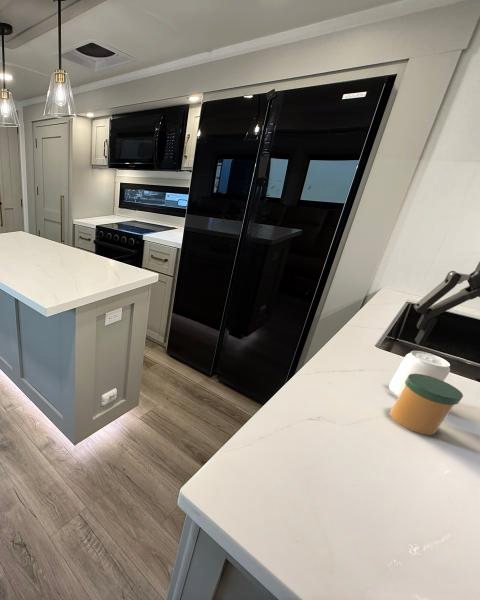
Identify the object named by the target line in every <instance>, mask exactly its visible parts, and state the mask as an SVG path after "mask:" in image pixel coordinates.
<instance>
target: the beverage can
mask: <svg viewBox="0 0 480 600" xmlns="http://www.w3.org/2000/svg"><path fill="white" fill-rule="evenodd" d="M450 372H451V364H450V362H448V361H447V359H444V358H442V357H440V356H439V355H435V354H433V353H429V352H426V351H421V350H412V351H410V352H408V353H407V354H406V355H405V356H404V358H403V360H402V362H401V363H400V365H399V367H398V369H397V371H396V372H395V374H394V376H393V378H392V379H391V381H390V383H389V385H388V388H389V389H390V391H391V392H392V393H394V394H395V395H396V396H397V397H399V395H400V393H401V392H402V390H403V388H404V387H405V385H406V384H405V381H406V379H407V377H408V376H409V375H410V374H422V375H427V376H430V377H433V378H436V379H439V380H442V381H444V382H445V380H446V378H447V377H448V375H449V374H450Z"/></svg>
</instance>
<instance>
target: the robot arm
mask: <svg viewBox="0 0 480 600" xmlns="http://www.w3.org/2000/svg"><path fill="white" fill-rule="evenodd" d="M465 281H467V283H468V286H466V287H464V288H462V289H460V290H459V291H458V292H456V293H454V294H452V295H450V296H448V297H446V298H444V299H442V298H443V297H444V296H446V295H447V294H448V293H449V292H451V291H452V290H453V289H454V288H456V286H457V285H461V284H462V283H464V282H465ZM476 298H480V261H479V262H478V264H477V265H476V267H475V270H474V271H472V272H471V273H469V274H467V273H461V272H457V271H456V270H450V271H449V272H448V273H447V274H446V276H445V278H444V279H443V281H442V282H440V283H439V284H438V285H437V286H436V287H434V288H433V289H432V290H431V291H429V293H427V294H426V295H425V296H423V298H421V299H420V300H418V301H417V302H416V303H415V304H414V305H413V309H414V310H415V311H416V312H417V313H419V314H421V316H420V318H419V319H418V321H417V323H416V328H417V329H418V330H419V331H418V333H417V335H416V337H415V338H414V341H415V343H416V344H417V345H418V346H422V347H423V346H424V344H425V343H426V342H427V339H428V337H429V336H430V334H431V333H432V331H433V329H434V327H435V326H436V324H437V322H438V319H437V316H439V315H441V314H443V313H445V312H447V311H449V310H451V309H454V308H455V307H457V306H459V305H461V304H463V303H466V302H469V300H473V299H476ZM439 300H440V301H439Z"/></svg>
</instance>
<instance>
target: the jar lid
mask: <svg viewBox="0 0 480 600" xmlns="http://www.w3.org/2000/svg"><path fill="white" fill-rule="evenodd" d="M405 384H406V386H407V387H408V388H409V389H411V390H412V391H413V392H415V393H417V394H418V395H420V396H422V397H425V398H427V399H429V400H432V401H435V402H438V403H442V404H447V405H454V406H455V405H458V404H459V403H460V401H461V400H462V399H463V397H464V395H463V393H462V391H461V390H460V389H458V388H457V387H455V386H453V385H452V384H450V383H448V382H446V381H445V380H444V381H442V380H439V379H436V378H433V377H430V376H427V375H422V374H410V375H409V376H408V377H407V379H406V381H405Z"/></svg>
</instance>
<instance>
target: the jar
mask: <svg viewBox="0 0 480 600" xmlns="http://www.w3.org/2000/svg"><path fill="white" fill-rule="evenodd" d="M454 406H455V405H447V404H442V403H438V402H435V401H432V400H429V399H427V398H425V397H422V396H420V395H418V394H417V393H415V392H413V391H412V390H411V389H409V388H408V387H407V386H406V385H405V387H404V388H403V390H402V392H401V393H400V395H399V396H397V399H396V400H395V402H394V403H393V406H392V407H391V409H390V410H389V415H390V417H391V418H392V420H394V421H395V422H396V423H397V424H399V425H400V426H402V427H404V428H405V429H407V430H410V431H412V432H415V433H417V434H421V435H425V436H431V435H434V434H436V432H437V431H438V429H439V428H440V427H441V425H442V424H443V422H444V421H445V419H446V418H447V416H448V415H449V413H450V412H451V410H452V409H453V407H454Z"/></svg>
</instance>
